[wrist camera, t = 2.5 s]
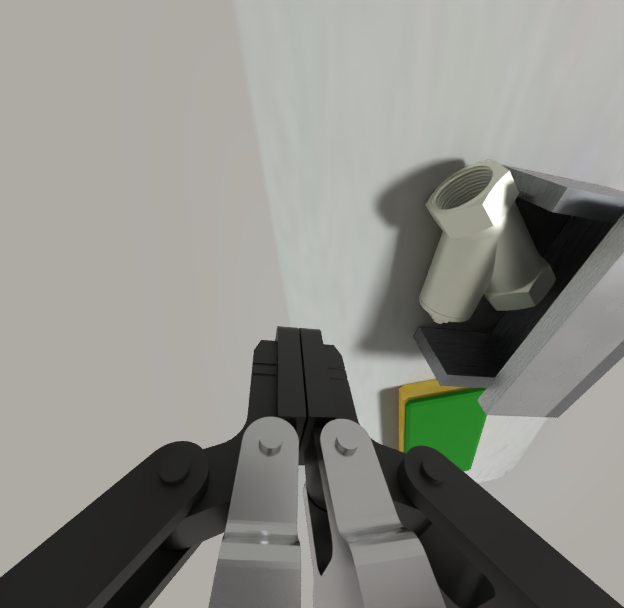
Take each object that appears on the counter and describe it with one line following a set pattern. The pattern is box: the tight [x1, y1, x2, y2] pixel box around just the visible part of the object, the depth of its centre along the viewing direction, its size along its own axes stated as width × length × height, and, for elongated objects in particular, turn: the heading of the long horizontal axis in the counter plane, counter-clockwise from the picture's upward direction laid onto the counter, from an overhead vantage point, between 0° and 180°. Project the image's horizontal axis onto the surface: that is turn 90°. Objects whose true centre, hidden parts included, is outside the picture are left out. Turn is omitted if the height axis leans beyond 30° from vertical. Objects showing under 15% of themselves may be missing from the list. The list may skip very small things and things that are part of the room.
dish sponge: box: [399, 379, 487, 471], centre depth 29 cm, size 7×14×2 cm, turn 10°
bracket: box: [414, 165, 624, 418], centre depth 17 cm, size 12×7×6 cm, turn 169°
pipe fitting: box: [419, 160, 556, 324], centre depth 17 cm, size 8×4×7 cm
